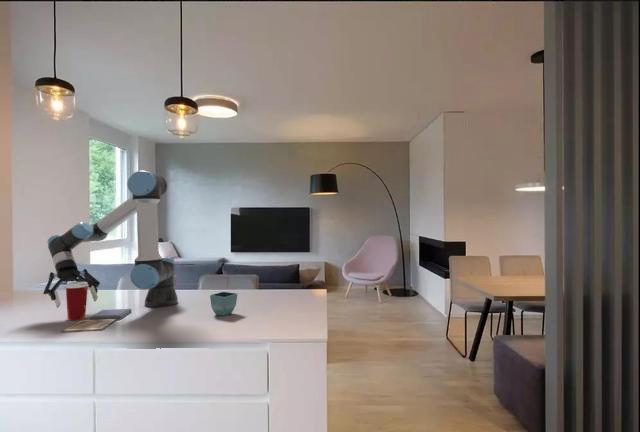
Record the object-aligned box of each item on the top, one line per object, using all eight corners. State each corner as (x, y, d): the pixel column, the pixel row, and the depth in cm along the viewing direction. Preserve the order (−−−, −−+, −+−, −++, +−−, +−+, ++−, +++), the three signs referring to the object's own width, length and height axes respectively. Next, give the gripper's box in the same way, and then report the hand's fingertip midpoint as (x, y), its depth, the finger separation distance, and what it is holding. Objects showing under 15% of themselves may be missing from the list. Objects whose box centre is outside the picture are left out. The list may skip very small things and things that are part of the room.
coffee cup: (92, 316, 147) (93, 282, 147) (73, 322, 139) (74, 285, 139) (79, 315, 149) (79, 280, 150) (59, 320, 142) (60, 284, 142)
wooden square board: (117, 319, 142) (117, 318, 142) (102, 330, 129) (102, 329, 129) (80, 321, 140) (80, 320, 140) (61, 332, 126) (61, 330, 126)
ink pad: (131, 311, 155) (131, 308, 155) (120, 319, 143) (120, 315, 143) (102, 312, 153) (102, 309, 153) (89, 320, 141) (89, 316, 141)
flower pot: (238, 313, 154) (238, 293, 154) (224, 317, 146) (225, 297, 146) (222, 310, 158) (222, 291, 158) (209, 315, 150) (209, 295, 150)
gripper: (93, 266, 164) (107, 302, 155) (27, 272, 143) (38, 314, 135) (98, 256, 161) (112, 291, 152) (31, 261, 140) (43, 302, 132)
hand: (78, 302), depth 143 cm, fingers open, 13 cm apart
